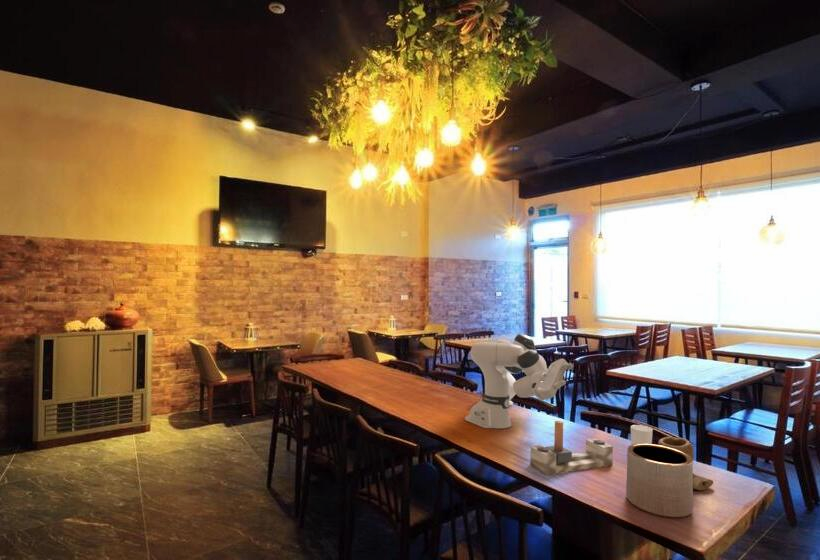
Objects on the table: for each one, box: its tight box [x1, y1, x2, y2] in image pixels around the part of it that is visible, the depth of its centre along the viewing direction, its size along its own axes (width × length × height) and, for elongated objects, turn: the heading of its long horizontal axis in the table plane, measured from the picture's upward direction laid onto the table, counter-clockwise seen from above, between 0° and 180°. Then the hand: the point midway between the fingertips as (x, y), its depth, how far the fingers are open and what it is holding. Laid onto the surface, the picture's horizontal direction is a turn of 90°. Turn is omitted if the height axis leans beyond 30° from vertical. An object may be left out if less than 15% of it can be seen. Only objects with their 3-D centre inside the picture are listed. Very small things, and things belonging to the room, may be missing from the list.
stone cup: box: [657, 436, 714, 491], centre depth 149 cm, size 15×12×15 cm
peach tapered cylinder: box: [545, 420, 573, 464], centre depth 160 cm, size 6×7×14 cm
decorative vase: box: [496, 366, 517, 406], centre depth 248 cm, size 18×18×25 cm
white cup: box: [630, 424, 654, 445], centre depth 176 cm, size 8×8×10 cm
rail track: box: [529, 438, 614, 476], centre depth 162 cm, size 30×9×7 cm, turn 110°
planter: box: [625, 443, 694, 519], centre depth 134 cm, size 18×18×16 cm
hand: (568, 373), depth 175 cm, fingers open, 8 cm apart
